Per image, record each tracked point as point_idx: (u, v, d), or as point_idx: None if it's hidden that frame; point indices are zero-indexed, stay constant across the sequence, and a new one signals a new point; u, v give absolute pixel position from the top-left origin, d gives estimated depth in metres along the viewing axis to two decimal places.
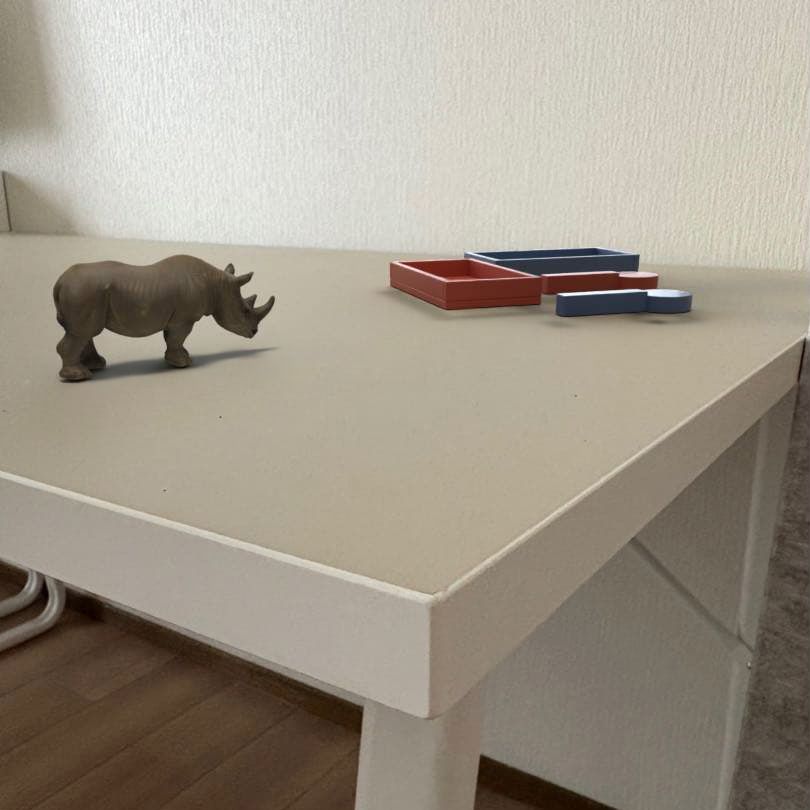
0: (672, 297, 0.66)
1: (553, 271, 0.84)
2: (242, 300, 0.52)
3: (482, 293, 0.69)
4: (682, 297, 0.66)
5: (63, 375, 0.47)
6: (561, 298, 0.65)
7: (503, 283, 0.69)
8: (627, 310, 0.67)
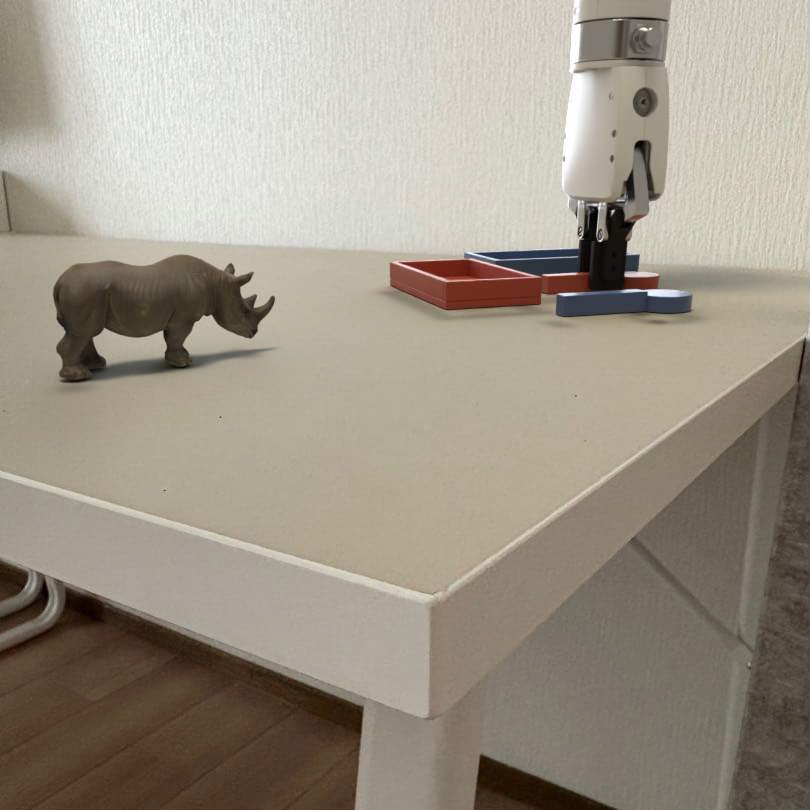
0: (672, 297, 0.66)
1: (553, 271, 0.84)
2: (242, 300, 0.52)
3: (482, 293, 0.69)
4: (682, 297, 0.66)
5: (63, 375, 0.47)
6: (561, 298, 0.65)
7: (503, 283, 0.69)
8: (627, 310, 0.67)
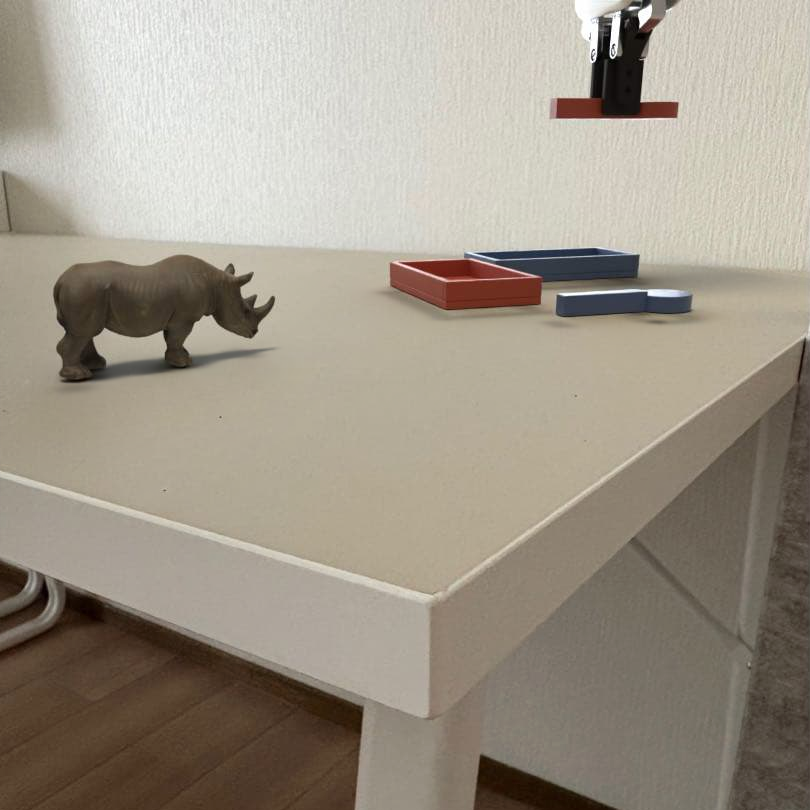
0: (672, 297, 0.66)
1: (553, 271, 0.84)
2: (242, 300, 0.52)
3: (482, 293, 0.69)
4: (682, 297, 0.66)
5: (63, 375, 0.47)
6: (561, 298, 0.65)
7: (503, 283, 0.69)
8: (627, 310, 0.67)
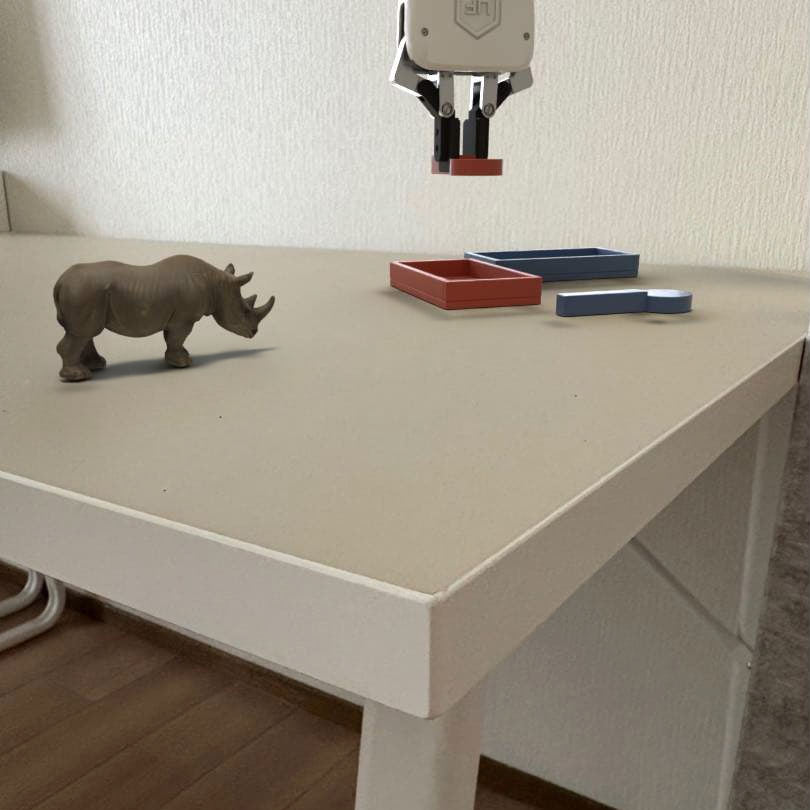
0: (672, 297, 0.66)
1: (553, 271, 0.84)
2: (242, 300, 0.52)
3: (482, 293, 0.69)
4: (682, 297, 0.66)
5: (63, 375, 0.47)
6: (561, 298, 0.65)
7: (503, 283, 0.69)
8: (627, 310, 0.67)
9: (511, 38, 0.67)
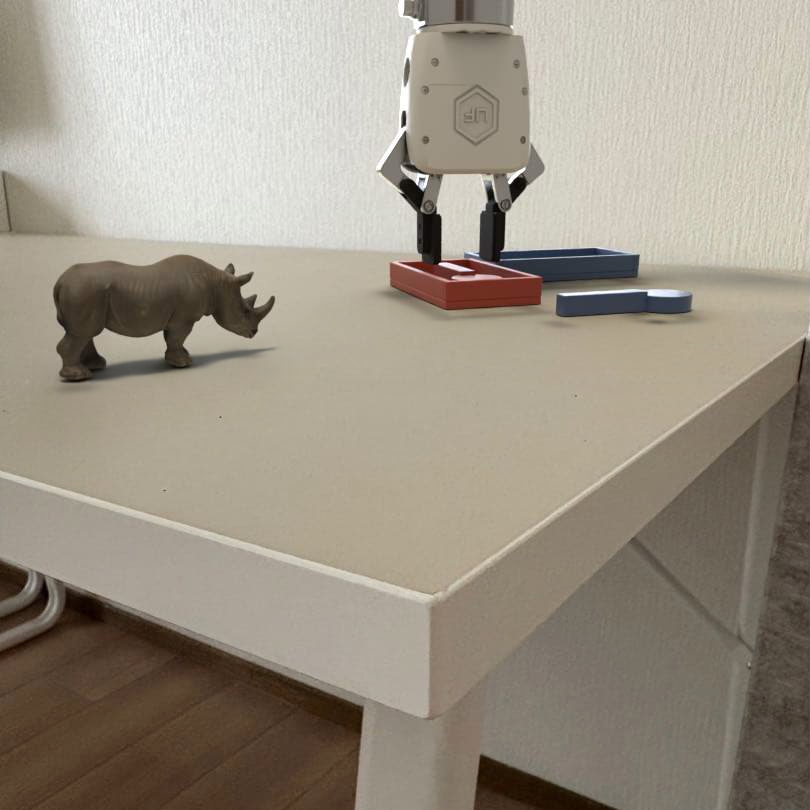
0: (672, 297, 0.66)
1: (553, 271, 0.84)
2: (242, 300, 0.52)
3: (482, 293, 0.69)
4: (682, 297, 0.66)
5: (63, 375, 0.47)
6: (561, 298, 0.65)
7: (503, 283, 0.69)
8: (627, 310, 0.67)
9: (508, 142, 0.70)
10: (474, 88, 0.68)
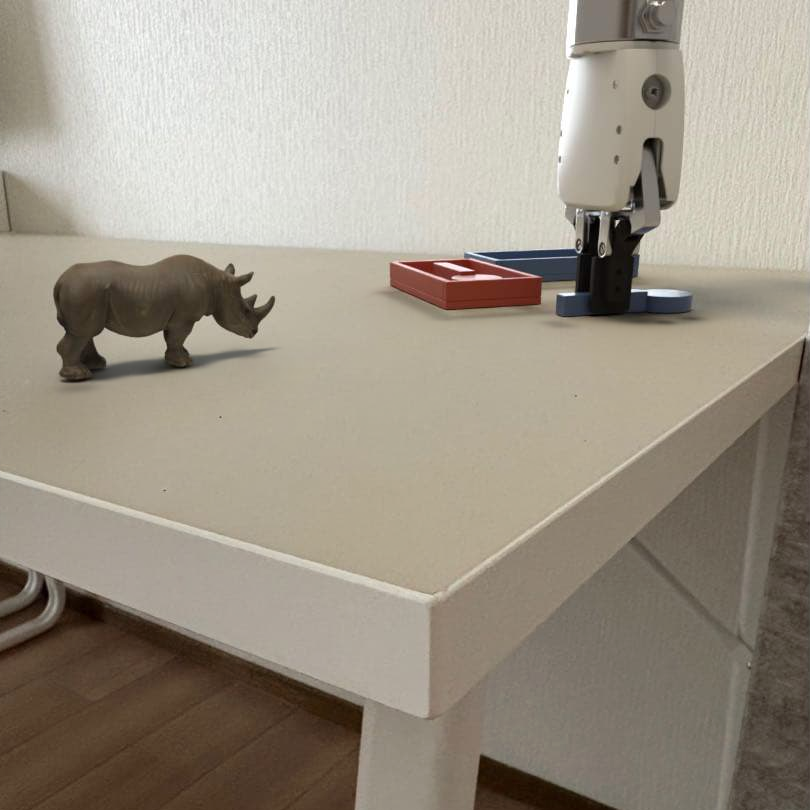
0: (672, 297, 0.66)
1: (553, 271, 0.84)
2: (242, 300, 0.52)
3: (482, 293, 0.69)
4: (682, 297, 0.66)
5: (63, 375, 0.47)
6: (561, 298, 0.65)
7: (503, 283, 0.69)
8: None
9: None
10: None
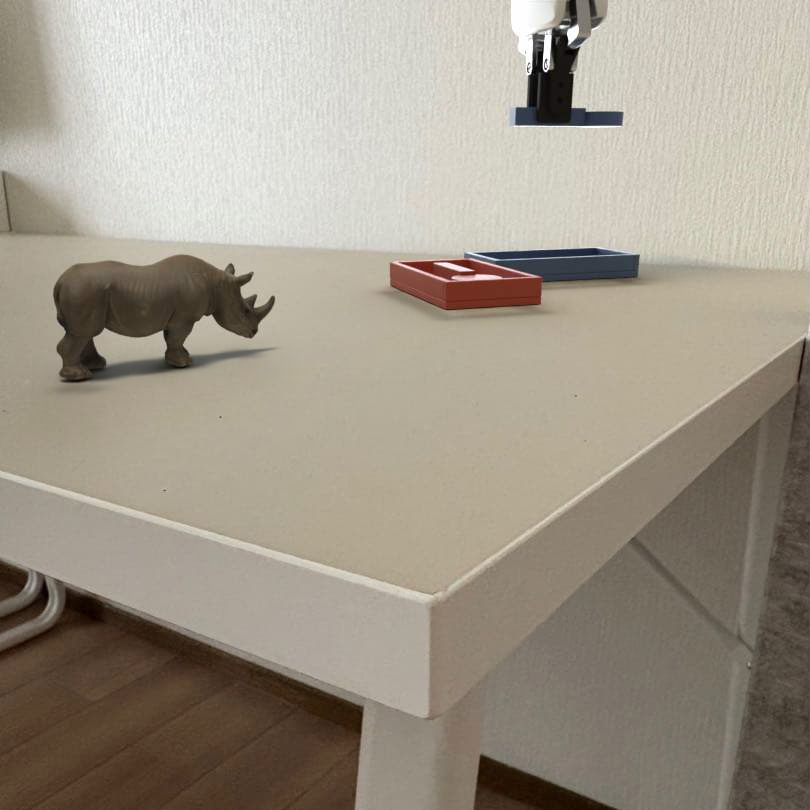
0: (606, 111, 0.79)
1: (553, 271, 0.84)
2: (242, 300, 0.52)
3: (482, 293, 0.69)
4: (614, 112, 0.80)
5: (63, 375, 0.47)
6: (513, 110, 0.79)
7: (503, 283, 0.69)
8: (569, 124, 0.80)
9: None
10: None
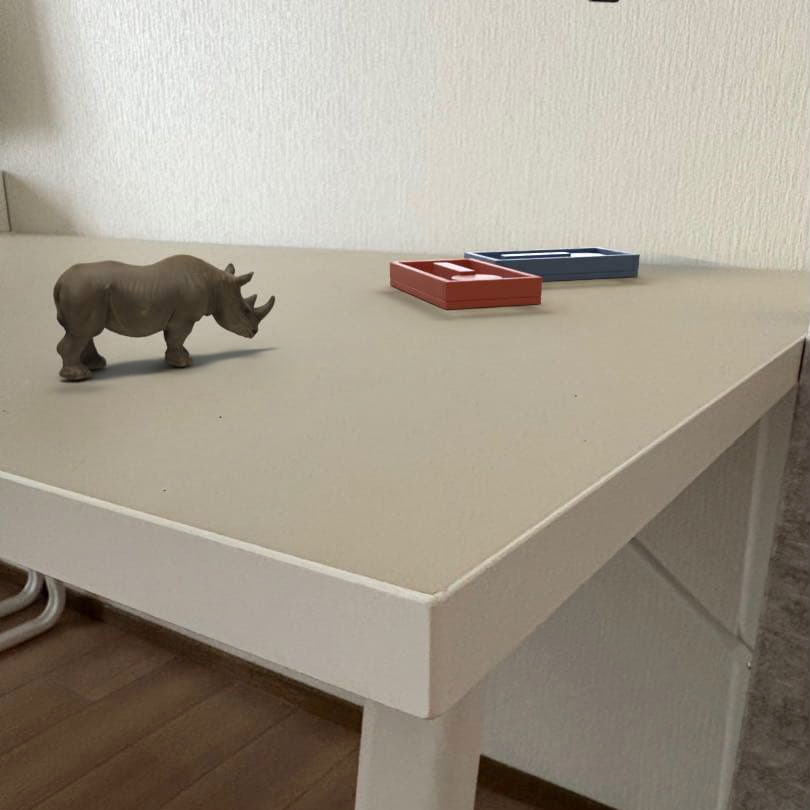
0: None
1: (553, 271, 0.84)
2: (242, 300, 0.52)
3: (482, 293, 0.69)
4: None
5: (63, 375, 0.47)
6: (504, 258, 0.86)
7: (503, 283, 0.69)
8: None
9: None
10: None
